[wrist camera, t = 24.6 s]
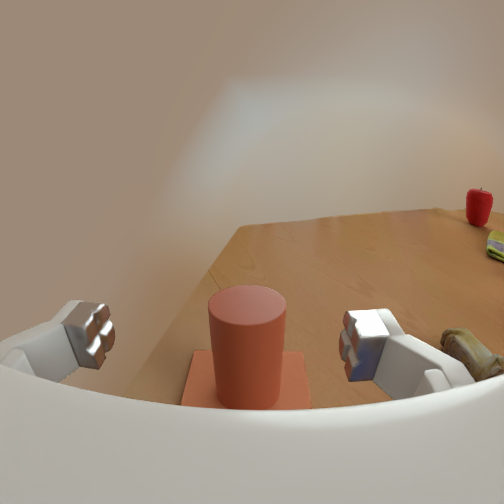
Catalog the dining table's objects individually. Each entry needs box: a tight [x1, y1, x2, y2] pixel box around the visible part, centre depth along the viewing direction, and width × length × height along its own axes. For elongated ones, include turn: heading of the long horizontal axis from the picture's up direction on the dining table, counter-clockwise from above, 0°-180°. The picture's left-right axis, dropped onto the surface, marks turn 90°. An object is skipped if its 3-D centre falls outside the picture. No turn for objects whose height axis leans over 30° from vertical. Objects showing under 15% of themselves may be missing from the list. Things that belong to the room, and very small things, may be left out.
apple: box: [466, 189, 493, 227], centre depth 83 cm, size 11×10×14 cm
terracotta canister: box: [208, 285, 286, 410], centre depth 25 cm, size 6×6×10 cm
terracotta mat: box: [180, 350, 312, 410], centre depth 27 cm, size 12×12×1 cm
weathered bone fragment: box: [440, 328, 504, 382], centre depth 24 cm, size 5×5×15 cm
